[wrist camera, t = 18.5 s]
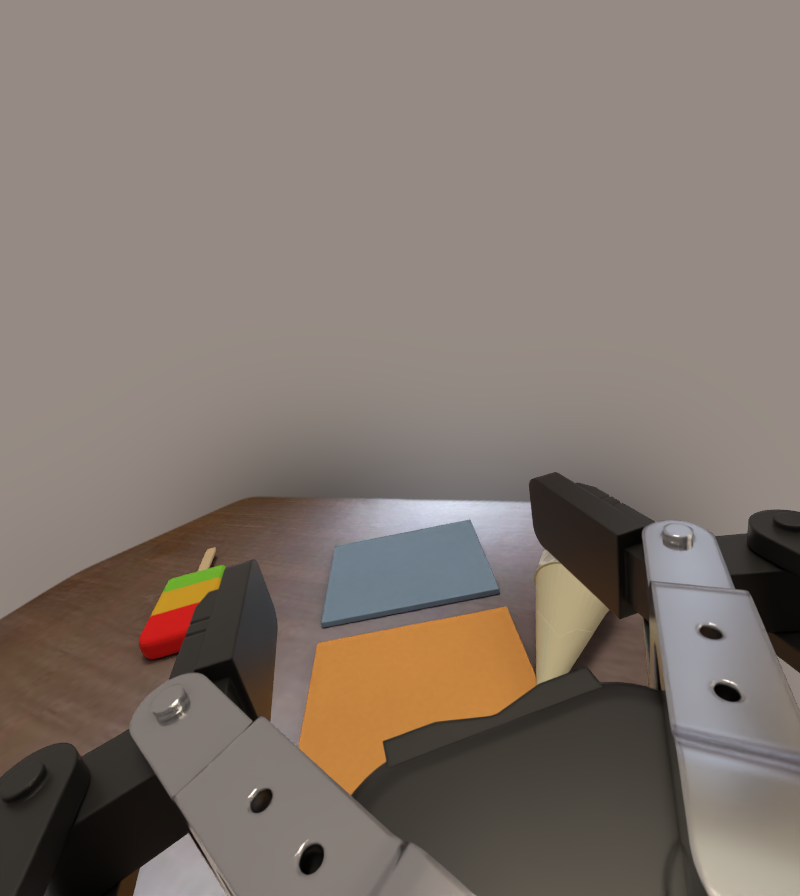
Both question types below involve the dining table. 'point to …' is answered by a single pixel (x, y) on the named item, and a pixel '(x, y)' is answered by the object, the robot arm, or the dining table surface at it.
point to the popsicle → (178, 609)
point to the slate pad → (406, 573)
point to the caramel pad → (407, 686)
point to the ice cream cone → (562, 618)
